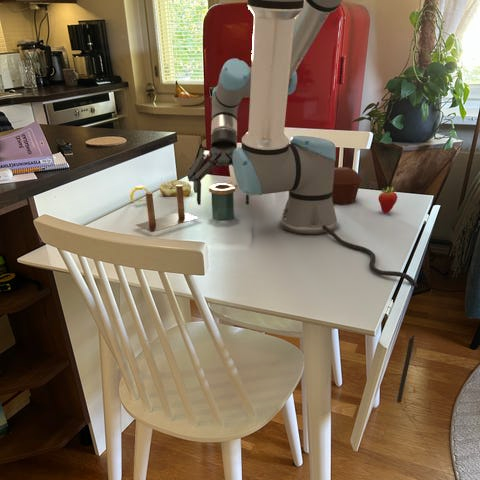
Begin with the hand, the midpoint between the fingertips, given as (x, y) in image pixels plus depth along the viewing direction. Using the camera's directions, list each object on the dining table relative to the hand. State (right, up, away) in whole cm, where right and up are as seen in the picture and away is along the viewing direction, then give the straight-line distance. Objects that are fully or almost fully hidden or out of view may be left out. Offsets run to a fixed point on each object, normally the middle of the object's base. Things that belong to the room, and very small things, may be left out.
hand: (223, 202), depth 133 cm
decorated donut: (-17, +9, +28) cm, 34 cm away
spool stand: (-16, -6, +1) cm, 17 cm away
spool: (0, -5, +4) cm, 6 cm away
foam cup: (+5, +16, +39) cm, 43 cm away
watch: (-27, +3, +19) cm, 33 cm away
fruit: (+48, -1, +8) cm, 49 cm away
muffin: (+37, +5, +20) cm, 42 cm away
